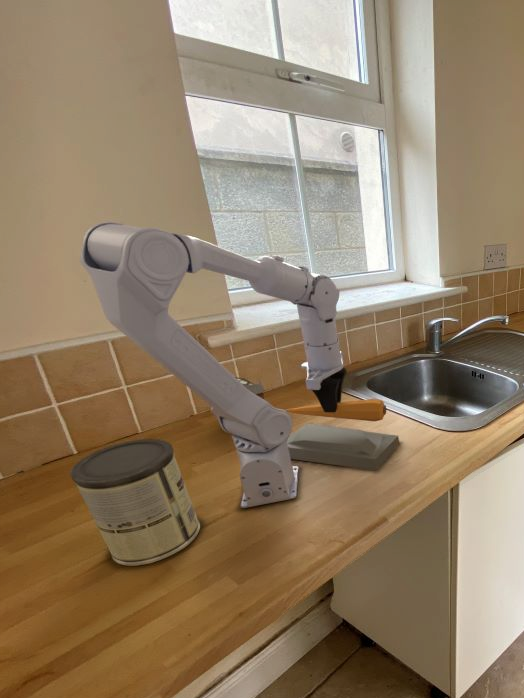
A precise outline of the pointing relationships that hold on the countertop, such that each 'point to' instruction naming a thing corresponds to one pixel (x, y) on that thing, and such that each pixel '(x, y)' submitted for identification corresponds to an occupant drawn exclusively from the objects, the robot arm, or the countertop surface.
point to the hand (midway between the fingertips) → (332, 408)
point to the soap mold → (341, 446)
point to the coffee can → (137, 500)
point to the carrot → (348, 410)
